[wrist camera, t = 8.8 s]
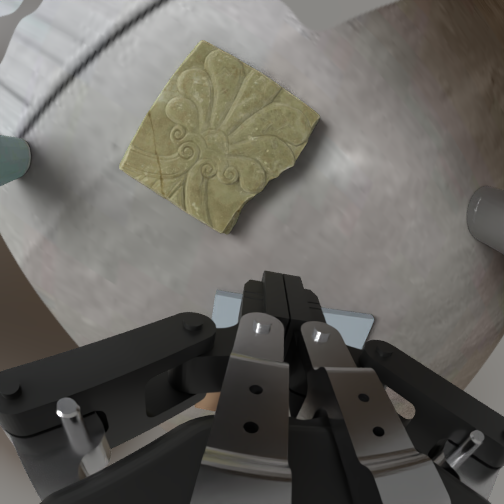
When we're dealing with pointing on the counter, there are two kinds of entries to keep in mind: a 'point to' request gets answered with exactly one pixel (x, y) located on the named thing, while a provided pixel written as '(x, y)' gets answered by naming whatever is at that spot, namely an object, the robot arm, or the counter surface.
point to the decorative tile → (217, 137)
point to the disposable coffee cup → (13, 158)
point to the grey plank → (346, 322)
